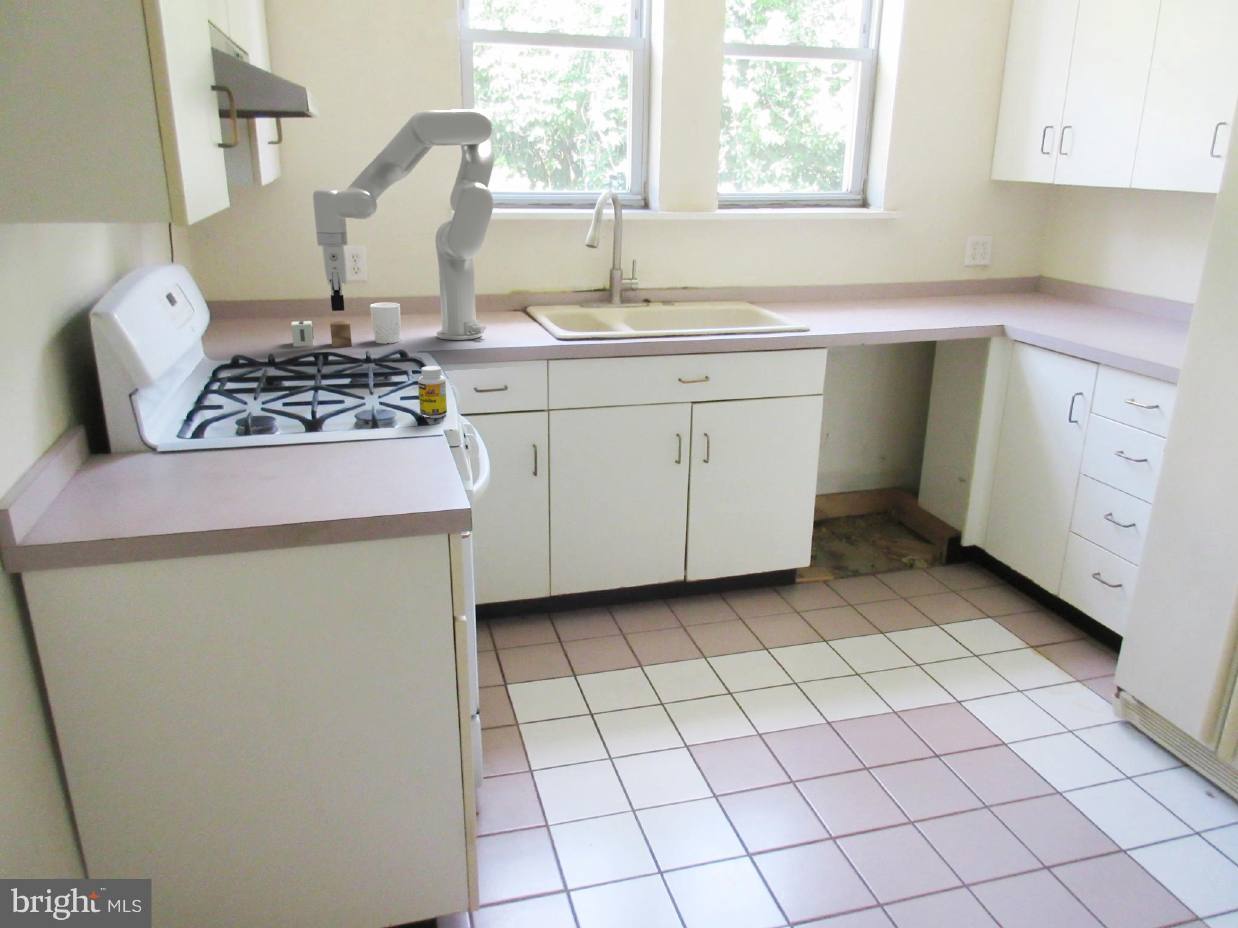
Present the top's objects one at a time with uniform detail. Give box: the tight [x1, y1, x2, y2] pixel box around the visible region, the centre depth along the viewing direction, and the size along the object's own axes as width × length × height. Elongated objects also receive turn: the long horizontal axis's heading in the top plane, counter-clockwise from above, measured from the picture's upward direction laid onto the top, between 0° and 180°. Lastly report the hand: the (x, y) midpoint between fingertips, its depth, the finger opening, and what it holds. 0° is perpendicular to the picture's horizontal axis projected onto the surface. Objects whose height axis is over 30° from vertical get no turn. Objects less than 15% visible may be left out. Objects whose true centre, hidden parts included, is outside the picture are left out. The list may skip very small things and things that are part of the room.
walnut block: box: [329, 320, 353, 348], centre depth 241 cm, size 5×5×6 cm
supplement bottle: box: [417, 365, 448, 419], centre depth 179 cm, size 5×5×10 cm
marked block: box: [290, 320, 314, 348], centre depth 241 cm, size 5×5×6 cm
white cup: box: [369, 302, 401, 345], centre depth 245 cm, size 8×8×10 cm
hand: (338, 310), depth 239 cm, fingers closed
